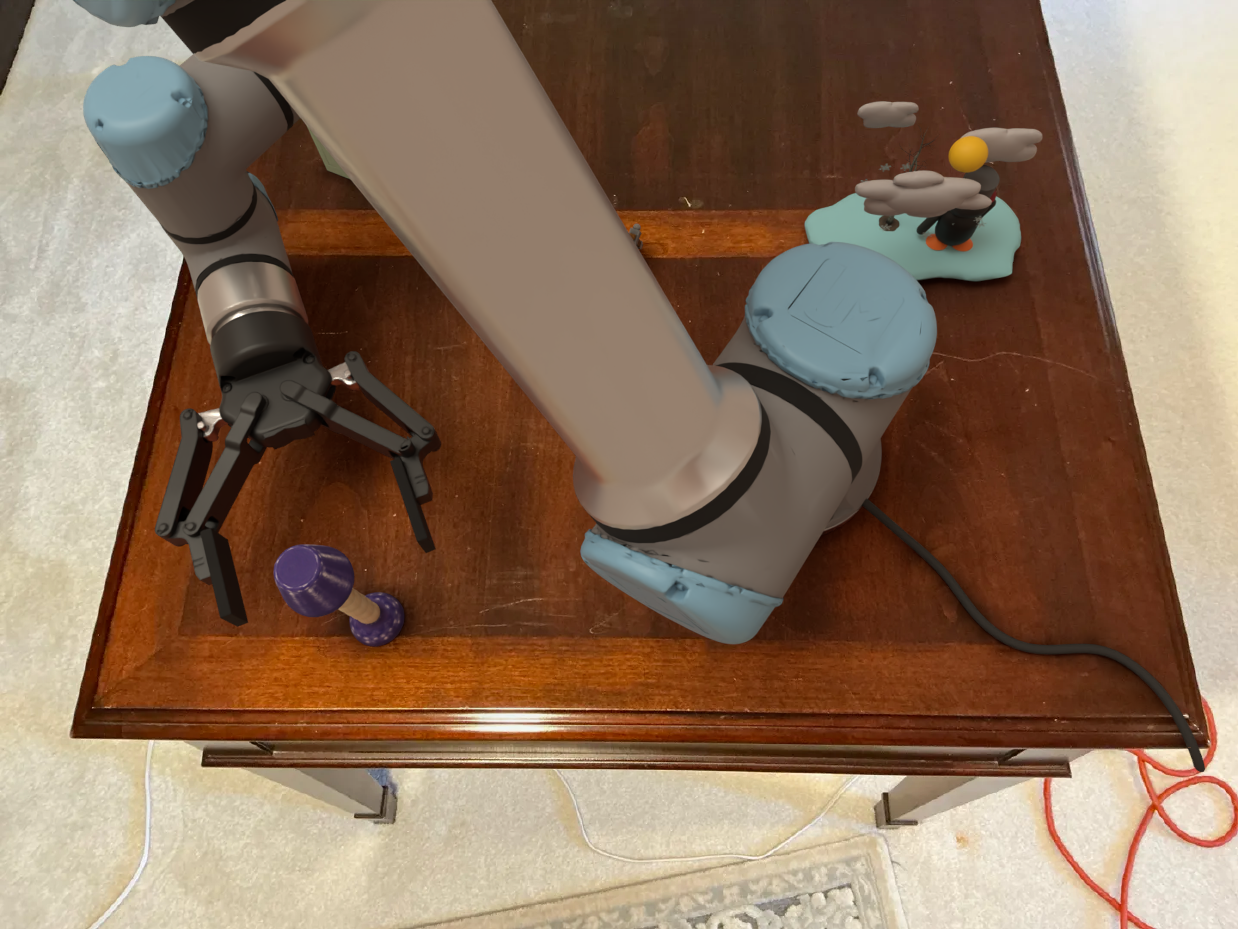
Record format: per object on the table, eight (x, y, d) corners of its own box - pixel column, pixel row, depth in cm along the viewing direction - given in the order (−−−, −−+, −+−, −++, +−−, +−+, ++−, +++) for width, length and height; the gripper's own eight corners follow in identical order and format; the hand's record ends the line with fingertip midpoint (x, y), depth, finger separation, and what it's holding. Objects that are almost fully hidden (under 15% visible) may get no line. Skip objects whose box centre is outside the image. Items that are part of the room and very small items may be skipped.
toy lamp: (400, 654, 66) (329, 603, 50) (340, 653, 66) (251, 602, 50) (407, 593, 68) (341, 526, 52) (349, 592, 68) (266, 525, 52)
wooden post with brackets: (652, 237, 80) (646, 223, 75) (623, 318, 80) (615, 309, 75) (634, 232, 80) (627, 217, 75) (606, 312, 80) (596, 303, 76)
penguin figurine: (1006, 200, 82) (1083, 72, 68) (1026, 293, 78) (1113, 177, 64) (798, 201, 82) (833, 74, 68) (808, 295, 78) (846, 179, 64)
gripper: (424, 310, 71) (510, 532, 63) (126, 414, 68) (178, 662, 60) (402, 255, 64) (495, 497, 57) (69, 368, 61) (119, 642, 53)
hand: (332, 583), depth 58 cm, fingers open, 13 cm apart
